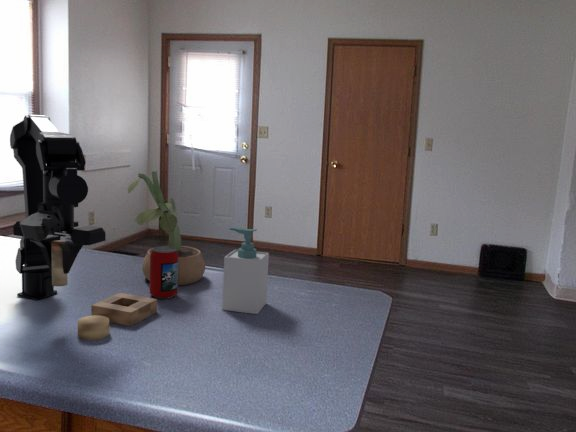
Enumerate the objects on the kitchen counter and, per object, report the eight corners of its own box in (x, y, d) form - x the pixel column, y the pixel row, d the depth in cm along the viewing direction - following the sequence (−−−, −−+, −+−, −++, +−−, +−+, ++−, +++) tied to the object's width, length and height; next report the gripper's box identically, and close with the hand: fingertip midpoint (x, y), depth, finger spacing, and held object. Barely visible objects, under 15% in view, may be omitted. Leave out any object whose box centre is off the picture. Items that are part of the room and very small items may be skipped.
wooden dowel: (48, 285, 115) (48, 242, 114) (59, 281, 118) (58, 239, 117) (60, 287, 114) (60, 244, 113) (70, 283, 117) (70, 241, 116)
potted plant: (174, 266, 167) (177, 165, 162) (217, 279, 156) (221, 171, 151) (109, 280, 149) (109, 167, 144) (152, 296, 138) (154, 175, 133)
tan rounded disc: (71, 337, 111) (70, 322, 110) (90, 327, 117) (90, 313, 116) (96, 342, 109) (96, 328, 109) (115, 332, 115) (115, 318, 114)
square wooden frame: (91, 318, 121) (91, 305, 121) (119, 305, 131) (119, 292, 130) (130, 326, 118) (131, 312, 118) (156, 311, 127) (157, 299, 127)
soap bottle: (232, 299, 140) (235, 223, 136) (266, 303, 138) (270, 227, 135) (221, 310, 131) (224, 230, 128) (257, 314, 130) (261, 233, 126)
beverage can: (170, 301, 135) (171, 252, 133) (144, 297, 137) (145, 250, 135) (181, 293, 142) (182, 247, 140) (156, 290, 143) (157, 244, 141)
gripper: (-10, 197, 109) (-8, 275, 111) (69, 206, 103) (70, 288, 105) (33, 191, 119) (34, 263, 122) (107, 200, 113) (107, 275, 116)
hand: (59, 272), depth 116 cm, fingers closed on wooden dowel, 3 cm apart
